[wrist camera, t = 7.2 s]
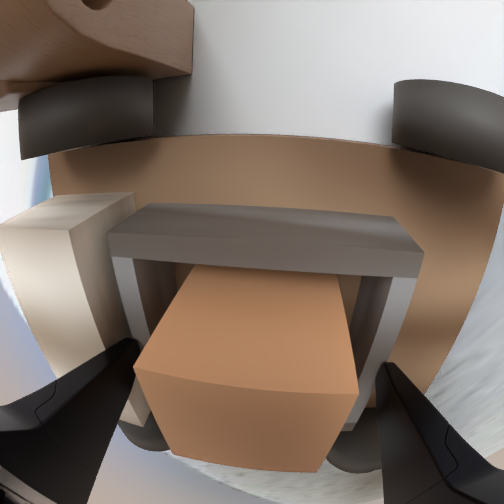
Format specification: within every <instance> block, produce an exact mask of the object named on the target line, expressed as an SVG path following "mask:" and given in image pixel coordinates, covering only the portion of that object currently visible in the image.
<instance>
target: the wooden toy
mask: <svg viewBox="0 0 504 504" xmlns="http://www.w3.org/2000/svg"><path fill="white" fill-rule="evenodd" d="M193 20H194V7H193V6H192V5H191V4H190V3H189V2H188V1H187V0H0V112H3V111H9V110H16V109H18V104H19V102H20V101H21V100H22V99H24V98H25V97H27V96H29V95H31V94H33V93H35V92H38V91H40V90H43V89H46V88H49V87H52V86H55V85H59V84H63V83H67V82H71V81H76V80H81V79H88V78H95V77H106V76H137V77H144V78H148V79H151V80H154V79H160V78H166V77H173V76H180V75H188V74H191V73H192V45H193Z"/></svg>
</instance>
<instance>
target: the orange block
mask: <svg viewBox="0 0 504 504" xmlns="http://www.w3.org/2000/svg"><path fill="white" fill-rule="evenodd" d="M133 368H134V371H135V373H136V376H137V379H138V381H139V383H140V386H141V388H142V391H143V393H144V395H145V398H146V400H147V402H148V404H149V407H150V409H151V411H152V413H153V415H154V418H155V420H156V422H157V424H158V426H159V428H160V430H161V432H162V434H163V436H164V438H165V440H166V442H167V444H168V446H169V448H170V450H171V451H172V453H173V454H174V455H178V456H182V457H186V458H191V459H195V460H200V461H205V462H210V463H215V464H221V465H227V466H234V467H241V468H249V469H258V470H269V471H283V472H317V471H318V469H319V467H320V466H321V464H322V463H323V461H324V459H325V458H326V456H327V454H328V453H329V451H330V449H331V447H332V446H333V444H334V442H335V440H336V438H337V437H338V435H339V433H340V431H341V429H342V427H343V426H344V424H345V422H346V420H347V418H348V416H349V414H350V412H351V410H352V408H353V406H354V404H355V402H356V400H357V397H358V395H359V388H358V381H357V375H356V369H355V363H354V357H353V351H352V346H351V340H350V335H349V330H348V325H347V320H346V315H345V310H344V305H343V301H342V296H341V292H340V287H339V283H338V279H337V274H330V273H314V272H299V271H284V270H269V269H256V268H242V267H229V266H216V265H203V264H195V266H194V267H193V269H192V270H191V272H190V274H189V275H188V277H187V278H186V280H185V281H184V283H183V285H182V286H181V288H180V289H179V291H178V293H177V294H176V296H175V297H174V299H173V301H172V302H171V304H170V306H169V307H168V309H167V310H166V312H165V314H164V315H163V317H162V319H161V320H160V322H159V324H158V325H157V327H156V329H155V330H154V332H153V334H152V335H151V337H150V339H149V340H148V342H147V344H146V345H145V347H144V349H143V351H142V352H141V354H140V356H139V357H138V359H137V361H136V363H135V364H134V366H133Z"/></svg>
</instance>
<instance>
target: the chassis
mask: <svg viewBox="0 0 504 504" xmlns="http://www.w3.org/2000/svg"><path fill="white" fill-rule="evenodd" d="M18 122H19V141H20V153H21V160H25V159H29V158H34V157H38V156H42V155H47V154H49V155H48V160H49V169H50V177H51V184H52V191H53V197H52V198H50V199H48V200H46V201H43V202H41V203H39V204H37V205H35V206H33V207H31V208H29V209H27V210H26V211H24V212H22V213H20V214H18V215H16V216H14V217H12V218H11V219H9V220H7V221H5V222H3V223H2V224H0V252H1V255H2V258H3V261H4V264H5V267H6V270H7V273H8V276H9V279H10V281H11V284H12V287H13V289H14V292H15V295H16V297H17V300H18V302H19V304H20V307H21V309H22V311H23V314H24V316H25V318H26V320H27V322H28V325H29V327H30V329H31V331H32V333H33V335H34V337H35V339H36V341H37V343H38V345H39V347H40V348H41V350H42V352H43V354H44V356H45V358H46V360H47V361H48V363H49V365H50V366H51V368H52V370H53V372H54V373H55V375H56V376H57V378H60V377H61V376H63V375H65V374H66V373H68V372H70V371H71V370H73V369H75V368H76V367H78V366H80V365H81V364H83V363H84V362H86V361H88V360H89V359H91V358H93V357H94V356H96V355H98V354H99V353H101V352H102V351H104V350H106V349H107V348H109V347H111V346H112V345H114V344H116V343H117V342H119V341H120V340H122V339H124V338H126V337H129V338H133V339H136V340H137V342H138V346H139V349H140V352H142V351H143V349H144V347H145V345H146V344H147V342H148V340H149V339H150V337H151V335H152V334H153V332H154V330H155V329H156V327H157V325H158V324H159V322H160V320H161V319H162V317H163V315H164V314H165V312H166V310H167V309H168V307H169V306H170V304H171V302H172V301H173V299H174V297H175V296H176V294H177V293H178V291H179V289H180V288H181V286H182V285H183V283H184V281H185V280H186V278H187V277H188V275H189V274H190V272H191V270H192V269H193V267H194V266H195V264H203V265H216V266H229V267H242V268H256V269H269V270H284V271H299V272H314V273H330V274H337V279H338V283H339V287H340V292H341V296H342V301H343V305H344V310H345V315H346V320H347V325H348V330H349V335H350V340H351V346H352V351H353V357H354V363H355V369H356V375H357V381H358V388H359V395H358V397H357V400H356V402H355V404H354V406H353V408H352V410H351V412H350V414H349V416H348V418H347V420H346V422H345V424H344V426H343V427H342V429H341V431H340V433H339V435H338V437H337V438H336V440H335V442H334V444H333V446H332V447H331V449H330V451H329V453H328V454H327V456H326V459H327V460H328V461H329V462H330V463H331V464H332V465H333V466H335V467H336V468H338V469H340V470H342V471H345V472H349V473H368V472H371V471H374V470H376V469H378V468H380V467H382V465H381V455H380V445H379V437H378V429H377V421H376V393H375V379H376V376H377V374H378V371H379V369H380V367H381V365H382V363H383V362H394V363H395V364H396V365H397V366H398V367H399V368H400V369H401V370H402V371H403V372H404V374H405V375H406V376H407V377H408V378H409V379H410V380H411V381H412V382H413V383H414V384H415V386H416V387H417V388H418V389H419V390H420V391H421V392H422V393H423V394H425V392H426V391H427V389H428V388H429V386H430V384H431V383H432V381H433V379H434V378H435V376H436V375H437V373H438V371H439V369H440V368H441V366H442V364H443V362H444V361H445V359H446V357H447V355H448V353H449V352H450V350H451V348H452V346H453V344H454V342H455V340H456V338H457V336H458V334H459V332H460V330H461V328H462V326H463V324H464V321H465V319H466V317H467V315H468V312H469V310H470V308H471V306H472V303H473V301H474V298H475V296H476V293H477V291H478V288H479V286H480V283H481V280H482V278H483V275H484V272H485V269H486V266H487V263H488V260H489V257H490V254H491V250H492V247H493V244H494V240H495V237H496V233H497V229H498V225H499V221H500V217H501V213H502V208H503V203H504V97H502V96H500V95H497V94H495V93H492V92H489V91H486V90H483V89H479V88H476V87H472V86H468V85H463V84H458V83H453V82H447V81H438V80H424V79H415V80H403V81H399V82H397V83H395V84H394V106H393V128H392V142H391V143H394V144H397V145H401V146H405V147H409V148H413V149H418V150H422V151H426V152H430V153H434V154H430V153H426V152H421V151H416V150H410V149H405V148H399V147H393V146H387V145H381V144H374V143H367V142H359V141H351V140H342V139H332V138H321V137H308V136H293V135H270V134H205V135H183V136H167V137H155V138H144V139H134V140H126V141H118V142H111V141H117V140H123V139H129V138H135V137H141V136H147V135H152V134H154V126H153V81H152V80H151V79H148V78H144V77H137V76H106V77H95V78H88V79H81V80H76V81H71V82H67V83H63V84H59V85H55V86H52V87H49V88H46V89H43V90H40V91H38V92H35V93H33V94H31V95H29V96H27V97H25V98H24V99H22V100H21V101H20V102H19V104H18ZM106 142H110V143H106ZM100 143H103V144H100ZM95 144H96V145H95ZM89 145H90V146H89ZM51 153H53V154H51ZM435 154H437V155H435ZM440 155H441V156H440ZM444 156H445V157H444ZM448 157H449V158H448ZM118 425H119V427H120V428H121V430H122V431H123V433H124V434H125V436H126V437H127V438H128V439H129V440H130V441H131V442H132V443H133V444H135V445H136V446H138V447H140V448H142V449H145V450H149V451H166V450H170V448H169V446H168V444H167V442H166V440H165V438H164V436H163V434H162V432H161V430H160V428H159V426H158V424H157V422H156V420H155V418H154V415H153V413H152V411H151V409H150V407H149V404H148V402H147V400H146V398H145V395H144V393H143V391H142V388H141V386H140V383H139V381H138V379H137V376H136V378H135V381H134V384H133V387H132V390H131V393H130V395H129V398H128V400H127V402H126V405H125V407H124V409H123V412H122V414H121V416H120V419H119V421H118Z"/></svg>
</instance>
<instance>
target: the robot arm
mask: <svg viewBox="0 0 504 504" xmlns="http://www.w3.org/2000/svg"><path fill="white" fill-rule="evenodd" d="M140 354H141V352H140V349H139V346H138V342H137V340H136V339H133V338H129V337H126V338H124V339H122V340H120V341H119V342H117V343H116V344H114V345H112V346H111V347H109V348H107V349H106V350H104V351H102V352H101V353H99V354H98V355H96V356H94V357H93V358H91V359H89V360H88V361H86V362H84V363H83V364H81V365H80V366H78V367H76V368H75V369H73V370H71V371H70V372H68V373H66V374H65V375H63V376H61V377H60V378H58V379H57V380H55V381H53V382H52V383H50V384H48V385H46V386H45V387H43V388H41V389H39V390H37V391H35V392H33V393H32V394H29V395H27V396H25V397H23V398H21V399H19V400H17V401H15V402H13V403H10V404H8V405H4V406H0V504H87V502H88V499H89V496H90V493H91V490H92V488H93V485H94V482H95V480H96V476H97V474H98V471H99V468H100V466H101V463H102V461H103V458H104V456H105V453H106V451H107V448H108V446H109V443H110V441H111V438H112V436H113V433H114V431H115V428H116V426H117V424H118V421H119V419H120V416H121V414H122V412H123V409H124V407H125V405H126V402H127V400H128V398H129V395H130V393H131V390H132V387H133V384H134V381H135V378H136V373H135V371H134V368H133V366H134V364H135V363H136V361H137V359H138V357H139V356H140ZM375 393H376V421H377V429H378V437H379V445H380V455H381V465H382V467H380V468H378V469H382V477H383V492H384V504H504V470H501V469H498V468H496V467H494V466H492V465H491V464H490V463H489V462H488V461H486V460H485V459H484V458H483V457H482V456H481V455H480V454H479V453H478V452H477V451H476V450H475V449H473V448H472V447H471V446H470V445H469V444H468V443H467V442H466V441H465V440H464V439H463V438H462V437H461V436H460V435H459V434H458V432H457V431H456V430H455V429H454V428H453V427H452V426H451V425H450V424H449V423H448V421H447V420H446V419H445V418H444V417H443V416H442V415H441V413H440V412H439V411H438V410H437V409H436V408H435V407H434V406H433V404H432V403H431V402H430V401H429V400H428V399H427V398H426V397H425V396H424V394H423V393H422V392H421V391H420V390H419V389H418V388H417V387H416V386H415V384H414V383H413V382H412V381H411V380H410V379H409V378H408V377H407V376H406V375H405V374H404V372H403V371H402V370H401V369H400V368H399V367H398V366H397V365H396V364H395V363H394V362H383V363H382V365H381V367H380V369H379V371H378V374H377V376H376V379H375ZM378 469H376V470H378Z"/></svg>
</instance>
